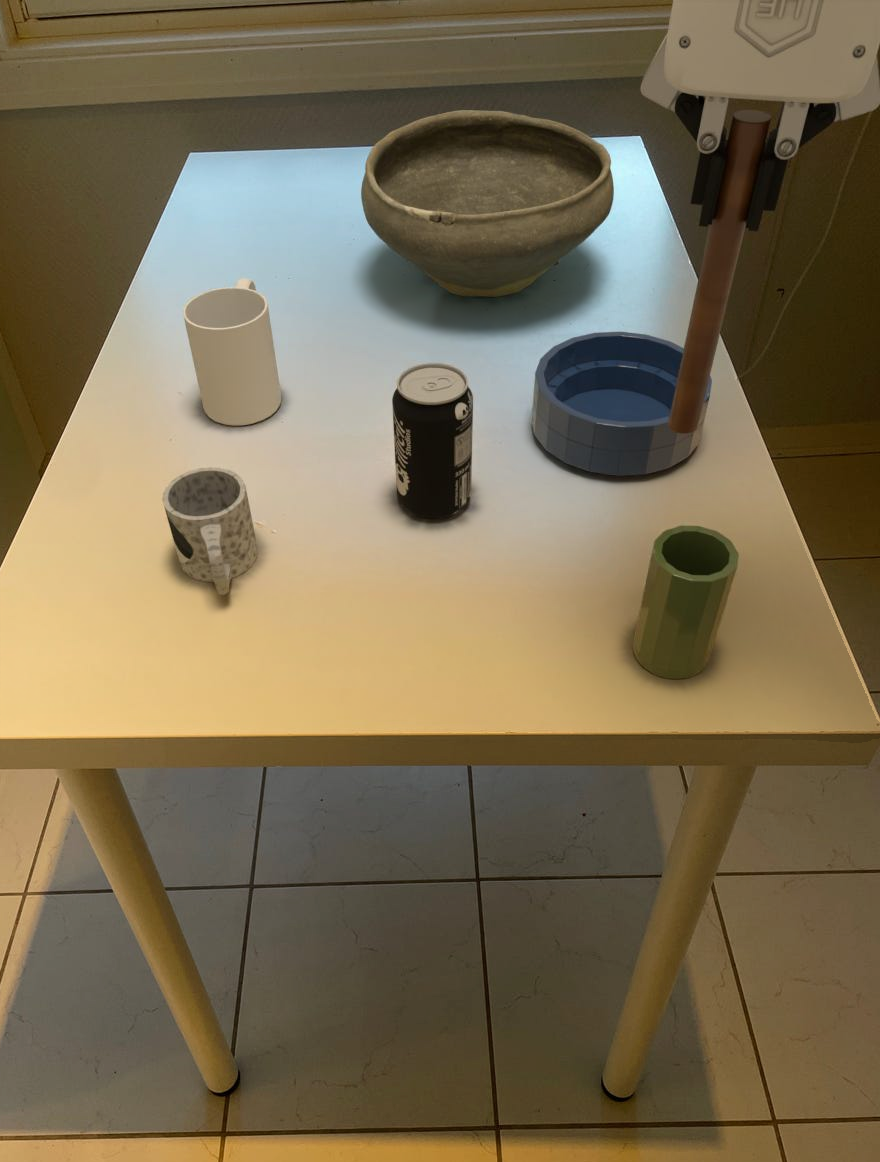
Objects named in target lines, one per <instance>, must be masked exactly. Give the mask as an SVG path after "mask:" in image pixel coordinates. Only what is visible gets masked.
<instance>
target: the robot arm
mask: <svg viewBox="0 0 880 1162" xmlns="http://www.w3.org/2000/svg"><path fill="white" fill-rule="evenodd" d="M667 28H668V29H667V33H666V34H665V36H664V38H663V40H662V42H661V43H660V45H659V46H658V49H657V51H656V52H655V55H654V56H653V58H652V59H651V62H650V63H649V65H648V68H647V69H646V71H645V73H644V75H643V77H642V81H641V83H640V86H639V87H640V89H639V90H640V93H641V95H642V96H644V97H645V98H647V99H648V100H650V101H652V102H653V103H654V104H655V103H656V104H657V105H659V106H661V107H663V108H664V109H666V110H670V111H672V112H673V113H675V115H676V116H677V118H678V119H679V120H680V122H681V124H682V125H683V126H684V127H685V128H686V130H687V131H688V132H689V134H690V136H691V137H692V138H693V140H694V141H695V142H696V147H697V149H698V151H699V156H698V161H697V167H696V170H695V171H696V172H695V176H694V180H693V186H692V187H693V188H692V193H691V198H690V202H689V203H690V205H697V206H701V207H700V208H701V209H700V215H699V222H698V227H704V228H709V226H710V225H712V221H713V217H714V212H715V207H716V203H717V198H718V193H719V189H720V184H721V179H722V175H723V170H724V165H725V160H726V154H727V150H726V146H727V141H728V139H727V138H726V137H727V134H728V133H727V131H728V129H727V127H726V126H725V125H724V123H725V120H726V114H727V110H728V106H729V100H730V99H740V100H755V101H769V102H771V101H772V102H781V103H780V108H779V112H778V117H777V120H776V125H775V128H773V129H772V130H771V131H769V132H768V136H767V138H766V142H765V146H764V151H763V153H762V156H761V160H760V164H759V168H758V173H757V177H756V181H755V185H754V189H753V194H752V198H751V202H750V206H749V210H748V215H747V219H746V226H745V229H747V231H748V232H759V229H760V225H761V221H762V217H763V212H765V211H766V212H775V211H776V208H777V204H778V201H779V197H780V194H781V189H782V185H783V182H784V178H785V174H786V171H787V167H788V163H789V159H791V158H793V157H794V156H796V154H797V152H798V151H799V149H800V148H801V147H803V146H804V145H806V144H807V143H808V142H809V141H811V140H812V139H813V138H815V137H817V135H819V134H820V133H822V132H823V131H824V130H826V129H828V127H830V126H831V125H832V124H834V123H837V122H839V121H840V122H843V121H846V120H849V119H852V118H855V117H858V116H863V115H864V114H868V113H871V112H873V111H875V110H876V109H878V107H879V106H880V71H879V60H878V52H879V48H880V0H672V5H671V10H670V15H669V22H668V27H667Z"/></svg>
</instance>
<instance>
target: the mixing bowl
mask: <svg viewBox="0 0 880 1162" xmlns="http://www.w3.org/2000/svg"><path fill="white" fill-rule="evenodd" d="M683 350H684V347H682V346H681V345H678V344H676V343H675V342H672V341H670V340H667V339H663V338H660V337H656V336H653V335H649V334H646V333H639V332H638V333H637V332H628V331H603V332H602V331H601V332H600V331H599V332H592V333H586V334H582V335H578V336H573V337H571V338H569V339H567V340H564V341H562V342H560V343H558V344H556V345H554V346H552V347H551V348H550V349H549V350H548V351H547V352H546V353H544V355H543V356H542V357H540V359H539V362H538V365H537V367H536V370H535V372H534V383H533V384H534V385H533V397H532V398H533V399H532V411H531V424H532V430H533V435H534V437H535V438H536V440H537V441H538V443H540V444H541V446H542V447H543V448H544V450H545V451H547V452H548V453H550V454H551V455H553V456H554V457H556V458H558V459H559V460H560V461H561V462H563V463H565V464H567V465H569V466H573V467H575V468H578V469H580V470H584V471H587V472H590V473H596V474H602V475H608V476H609V475H610V476H619V477H620V476H639V475H640V476H641V475H648V474H652V473H656V472H659V471H664V470H667V469H670V468H672V467H673V466H675V465H677V464H679V463H680V462H682V461H684V460H685V459H687V458H689V456H690V455H691V454H692V453H693V452H694V450H695V448H696V447H697V446H698V445H699V443H700V440H701V435H702V432H703V427H704V424H705V423H704V422H705V419H706V415H707V410H708V406H709V401H710V397H711V392H712V385H713V384H712V383H713V380H712V376H710V377H709V381H708V385H707V389H706V394H705V398H704V402H703V406H702V410H701V415H700V419H699V423H698V427H697V429H696V430H695V431H694V432H692V433H689V434H681V433H677V432H674V431H673V430H671V429H670V428H669V426H668V421H669V417H670V412H671V407H672V402H673V398H674V393H675V388H676V383H677V379H678V374H679V369H680V364H681V360H682V355H683Z"/></svg>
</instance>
